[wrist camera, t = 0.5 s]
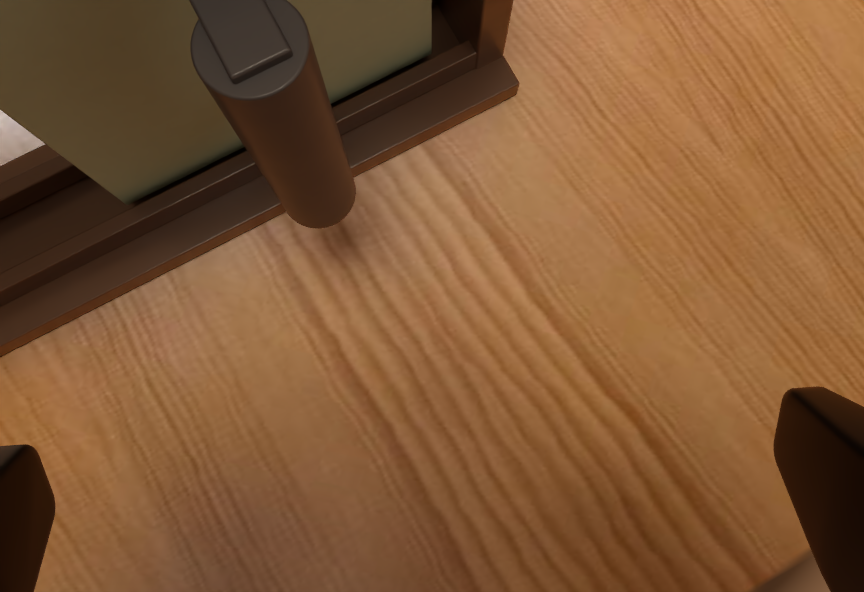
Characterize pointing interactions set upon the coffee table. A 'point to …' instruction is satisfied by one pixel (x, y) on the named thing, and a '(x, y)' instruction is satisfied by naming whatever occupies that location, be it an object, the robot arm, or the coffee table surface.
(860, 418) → the robot arm
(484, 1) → the door frame
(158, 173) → the door
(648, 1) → the coffee table surface
